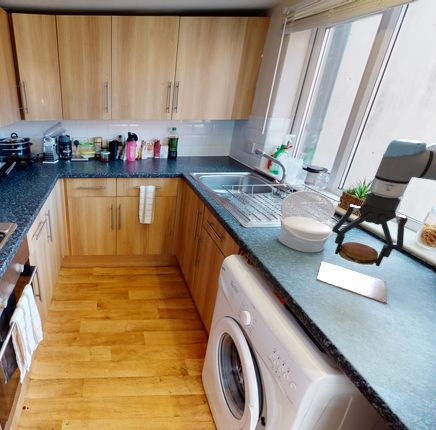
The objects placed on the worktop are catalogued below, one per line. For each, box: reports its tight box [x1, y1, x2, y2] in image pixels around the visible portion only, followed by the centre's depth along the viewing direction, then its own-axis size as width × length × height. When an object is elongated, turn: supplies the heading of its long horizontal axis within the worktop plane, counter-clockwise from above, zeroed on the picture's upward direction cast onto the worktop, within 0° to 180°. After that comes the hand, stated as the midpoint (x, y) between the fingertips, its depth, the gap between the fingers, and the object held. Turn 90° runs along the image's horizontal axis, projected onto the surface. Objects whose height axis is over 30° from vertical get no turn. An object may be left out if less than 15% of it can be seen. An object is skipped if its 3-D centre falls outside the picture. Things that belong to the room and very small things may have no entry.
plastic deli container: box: [277, 190, 336, 253], centre depth 116 cm, size 20×20×20 cm
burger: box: [338, 241, 379, 266], centre depth 92 cm, size 10×9×5 cm
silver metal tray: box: [316, 260, 388, 305], centre depth 96 cm, size 18×14×1 cm
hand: (356, 258), depth 93 cm, fingers closed on burger, 10 cm apart
